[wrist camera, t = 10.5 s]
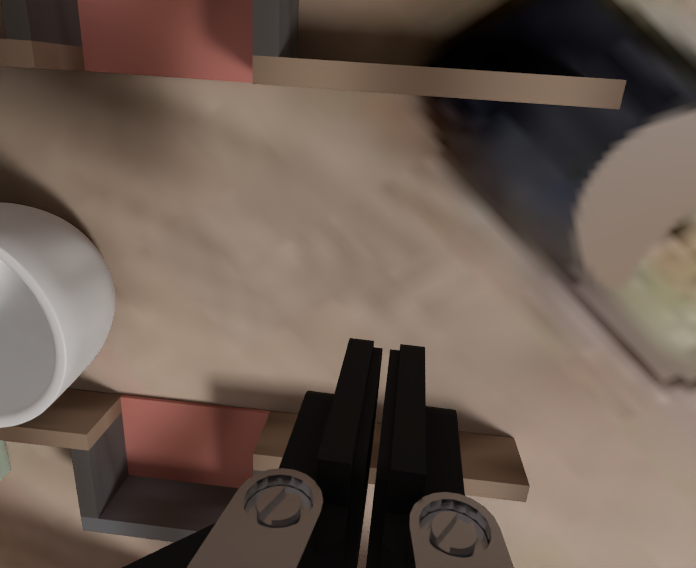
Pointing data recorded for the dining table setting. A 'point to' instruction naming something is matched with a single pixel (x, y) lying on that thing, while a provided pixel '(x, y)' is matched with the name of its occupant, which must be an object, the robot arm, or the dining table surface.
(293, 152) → the dining table surface
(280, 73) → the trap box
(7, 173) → the dining table surface
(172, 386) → the dining table surface
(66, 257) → the teacup
